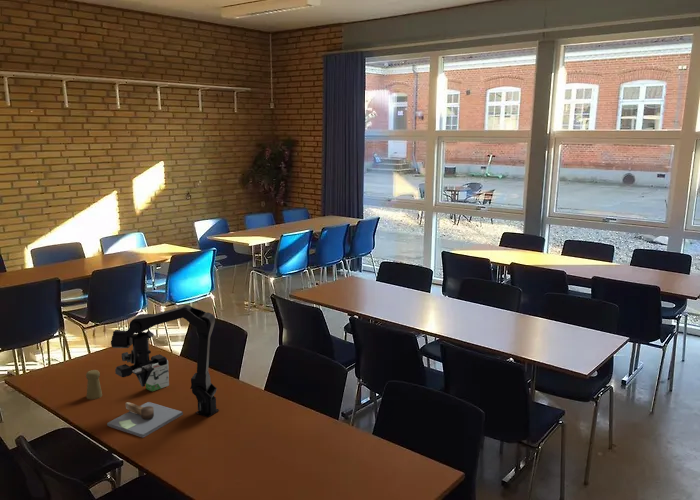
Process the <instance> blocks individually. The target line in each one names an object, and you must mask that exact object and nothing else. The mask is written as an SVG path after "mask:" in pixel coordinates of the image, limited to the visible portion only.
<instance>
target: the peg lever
mask: <svg viewBox="0 0 700 500" xmlns="http://www.w3.org/2000/svg"><path fill="white" fill-rule="evenodd" d="M125 409H126V410H128V412H129V411H131V412H134V413H137V414H139V415H141V417H142V418H143V419H150V418H152V417H154V408H153V407H151V406H147V407H141V405H139V404H138V405H137V404H135V403H132V402H129V401H128V402H125Z"/></svg>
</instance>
